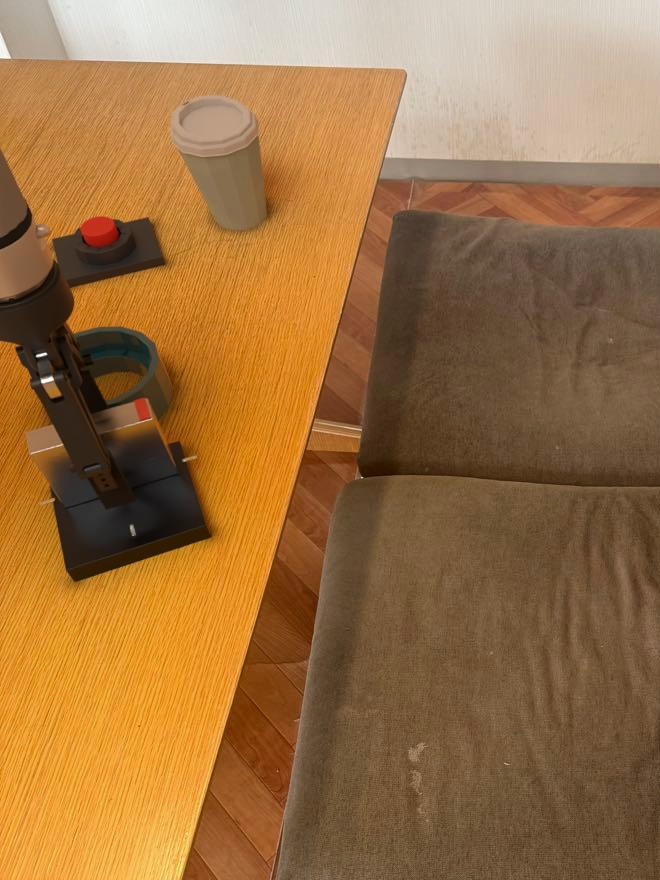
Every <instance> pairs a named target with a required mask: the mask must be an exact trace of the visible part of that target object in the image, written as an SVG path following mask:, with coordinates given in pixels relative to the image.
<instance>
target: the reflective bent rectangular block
mask: <svg viewBox="0 0 660 880" xmlns="http://www.w3.org/2000/svg"><path fill="white" fill-rule="evenodd" d="M91 416H92V419H93V421H94V423H95V426H96V428H97V430H98V432H99V435H100V437H101V439H102V442H103V444H104V446H105V449H106V450H110V452H111V454H112V455H113V457H114V459H115V461H116V463H117V465H118V466H119V468H120V470H121V472H122V474H123V476H124V477H125V479H126V481H127V483H128V485H129V486H130V488H132V487H136V486H139V485H142V484H146V483H149V482H152V481H155V480H159V479H162V478H165V477H168V476H172V475H175V474H178V473H179V472H178V469H177V465H176V462H175V459H174V455H173V452H172V450H171V448H170V446H169V444H170V443H169V441H168V439H167V437H166V435H165V433H164V431H163V429H162V426H161V424H160V423H159V420H157V418H156V416H155V414H154V411H153V409H152V407H151V405H150V403H149V401H148V399H147V398H141V399H137V400H134V402H131V403H127V404H124V405H120V406H117V407H113V408H110V409H106V410H102V411H99V412H95V413H92V414H91ZM25 436H26V444H27V448H28V454H29V456H30V457H31V459H32V461H33V462H34V463H35V465H36V467H37V468H38V469H39V471H40V472H41V474H42V476H43V477H44V479H45V481H46V482H47V483H48V485H49V484H50V486H51V488H52V489H53V491H54V492H55V494H56V495H57V497H58V498H59V500H60V501H61V503H62V504H63V506H64V507H65V508H67V507H70V506H74V505H77V504H80V503H83V502H87V501H90V500H93V499H96V498H99V497H98V496H97V494H96V492H95V491H94V489H93V487H92V486H91V484H90V482H89V481H88V479H87V478H86V479H83V480H81V479H80V477H79V476H78V475H77V473H76V472H73V473H72V472H71V471H70V469H69V468H70V464H73V463H72V461H71V459H70V457H69V455H68V453H67V451H66V449H65V447H64V445H63V443H62V441H61V439H60V437H59V435H58V433H57V432H56V430H55V428H54V426H53V424H50V425H45V426H42V427H39V428H35V429H31V430H28V431H25ZM50 486H49V487H50Z"/></svg>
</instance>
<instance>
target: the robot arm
mask: <svg viewBox="0 0 660 880" xmlns="http://www.w3.org/2000/svg"><path fill="white" fill-rule="evenodd" d="M51 233H52V231H51V229H50V226H49V225H48V224H46V223H45V222H44V223H38V224H37V223H36V218H35V217H34V215H33V213H32V210H31V208H30V206H29V204H28V202H27V199H26V198H25V197H24V195H23V193H22V191H21V188H20V186H19V185H18V182H17V180H16V178H15V176H14V174H13V171H12V169H11V168H10V165H9V163H8V161H7V158H6V157H5V155H4V153H3V151H2V148H1V147H0V342H2V343H8V344H9V343H10V344H13V345H14V344H15V345H18V346H14V350H15V351H16V352H15V353H16V355H17V357H18V359H19V361H20V364H21V365H22V366H23V367H24V368H26V370H27V371H28V373H29V376H30V378H29V386H30V388H31V390H33V391H34V393H35V395H36V397H37V398H38V400H39V401H40V403H41V404H42V406H43V408H44V411H45V412H46V414H47V416H48V417H49V420H50V422H51V425H53V426H54V428H55V430H56V432H57V433H58V435H59V437H60V439H61V441H62V443H63V445H64V447H65V449H66V451H67V453H68V455H69V457H70V459H71V461H72V463H73V464H70V468H69V469H70V471H71V472H72V473H73V472H76V473H77V475H78V476H79V477H80V479H81V480H83V479H86V478H87V479H88V481H89V482H90V484H91V486H92V487H93V489H94V491H95V492H96V494H97V496H98V497H99V499H100V501H101V502H102V504H103V506H104V507H105V509H106V510H108V509H111V508H114V507H117V506H120V505H124V504H127V503H130V502H133V501H136V500H135V496H134V494H133V492H132V490H131V488H130V486H129V485H128V483H127V481H126V479H125V477H124V476H123V474H122V472H121V470H120V468H119V466H118V465H117V463H116V461H115V459H114V457H113V455H112V454H111V452H110V450H106V449H105V446H104V444H103V442H102V439H101V437H100V435H99V432H98V430H97V428H96V426H95V423H94V421H93V419H92V416H91V414H92V413H95V412H99V411H102V410H106V409H109V407H108V405H107V403H106V399H105V396H104V395H103V394H102V392H101V390H100V387H99V386H98V384H97V382H96V380H95V379H94V378H93V376H92V374H91V372H90V370H85V371H84V370H83V369H82V368H85V367H89V366H92V365H95V364H94V361H93V358H92V356H91V354H90V353H88V354H84V355H81V354H80V352H79V350H81V349H80V346H81V345H80V342H79V341H77V339H76V337H75V336H74V333H73V331H72V329H71V327H70V326H69V324H68V323H67V322H68V320H69V319H70V317H71V316H72V313H74V308H75V296H74V293H73V291H72V288H70V287H69V285H68V283H67V281H66V279H65V277H64V275H63V273H62V271H61V269H60V267H59V265H58V263H57V260H55V259H54V256H53V255H54V254H53V252H52V250H51V249H50V246H49V244H48V242H47V240H46V238H47V237H49V236H51Z"/></svg>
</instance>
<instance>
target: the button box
mask: <svg viewBox="0 0 660 880" xmlns="http://www.w3.org/2000/svg"><path fill="white" fill-rule="evenodd" d="M149 217H150V216H147V217H146V216H145V217H142V218H138V219H133V220H129V221H125V222H123V220H120V219H118V218H117V219H115V218H111V219H112V220H113V221H114V223H115V225H116V228H117V230H118V233H119V238H118V240H117V241H115V242H113V243H112V244H110V245H107V246H102V247H92V246H89V245H88V244H87V243H86V241H85V239H84V237H83V235H82V232H81V230H80V228H81V226H79V227H78V228H76V230H75V231H74V233H72V234H68V235H63V236H58V237H54V238H51V242H52V246H53V250H54V255H55V258H56V262H57V263H58V265H59V267H60V269H61V271H62V273H63V275H64V277H65V279H66V281H67V283H68V285H69V287H70V289H72V288H76V287H80V286H85V285H89V284H93V283H96V282H101V281H104V280H105V281H106V280H110V279H112V278H116V277H117V278H118V277H121V276H126V275H129V274H134V273H137V272H142V271H146V270H150V269H155V268H159V267H163V266H166V261H165V259H164V257H163V253H162V251H161V248H160V245H159V242H158V240H157V239H158V238H157V236H156V234H155V231H154V227H153V225H152V223H151V220H150V218H149Z"/></svg>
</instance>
